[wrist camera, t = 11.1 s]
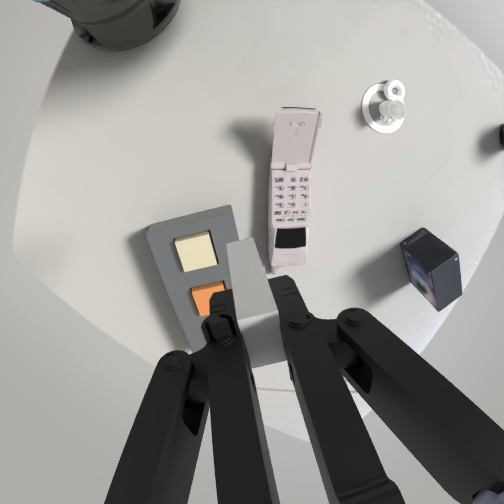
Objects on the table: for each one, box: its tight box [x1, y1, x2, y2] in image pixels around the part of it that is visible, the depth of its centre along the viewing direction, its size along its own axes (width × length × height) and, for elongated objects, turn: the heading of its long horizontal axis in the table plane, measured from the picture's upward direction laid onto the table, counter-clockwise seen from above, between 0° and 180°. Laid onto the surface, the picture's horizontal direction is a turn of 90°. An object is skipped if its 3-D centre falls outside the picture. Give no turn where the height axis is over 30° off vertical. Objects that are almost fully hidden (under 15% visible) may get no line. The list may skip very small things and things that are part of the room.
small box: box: [400, 228, 462, 312], centre depth 47 cm, size 11×6×10 cm, turn 31°
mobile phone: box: [268, 107, 322, 274], centre depth 41 cm, size 6×6×25 cm
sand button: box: [175, 230, 217, 272], centre depth 42 cm, size 5×5×4 cm
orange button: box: [192, 280, 227, 316], centre depth 46 cm, size 5×5×4 cm
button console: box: [146, 205, 239, 353], centre depth 46 cm, size 24×12×4 cm, turn 11°
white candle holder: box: [362, 80, 406, 134], centre depth 37 cm, size 9×8×4 cm
